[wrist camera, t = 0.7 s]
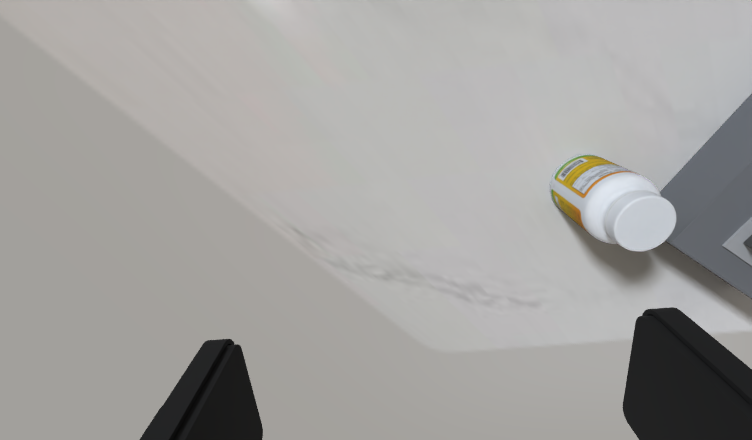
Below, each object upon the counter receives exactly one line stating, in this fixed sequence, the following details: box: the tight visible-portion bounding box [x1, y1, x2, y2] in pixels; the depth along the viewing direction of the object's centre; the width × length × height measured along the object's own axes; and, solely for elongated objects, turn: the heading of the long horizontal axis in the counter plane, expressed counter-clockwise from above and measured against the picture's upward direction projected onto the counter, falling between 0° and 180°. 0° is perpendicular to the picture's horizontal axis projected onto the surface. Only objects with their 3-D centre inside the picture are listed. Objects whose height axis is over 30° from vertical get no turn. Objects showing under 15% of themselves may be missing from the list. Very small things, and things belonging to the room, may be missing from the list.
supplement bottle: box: [550, 154, 676, 252], centre depth 31 cm, size 5×5×10 cm
